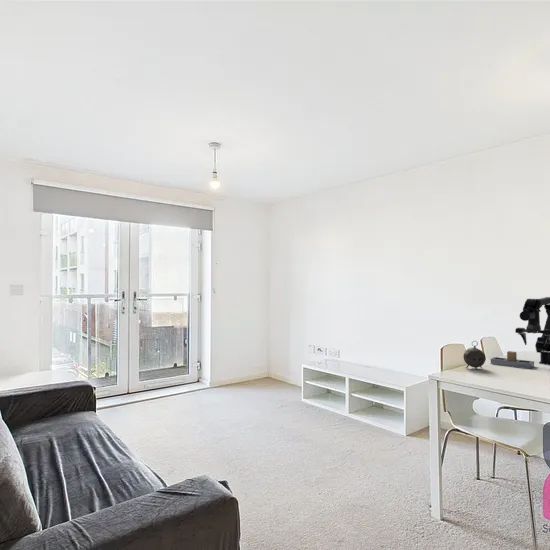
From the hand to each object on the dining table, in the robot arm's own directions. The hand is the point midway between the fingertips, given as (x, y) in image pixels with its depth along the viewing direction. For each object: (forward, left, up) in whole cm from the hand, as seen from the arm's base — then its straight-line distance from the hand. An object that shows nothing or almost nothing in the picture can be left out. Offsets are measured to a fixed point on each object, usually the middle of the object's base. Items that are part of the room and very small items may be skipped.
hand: (534, 345), depth 233 cm
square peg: (+8, -10, -12) cm, 18 cm away
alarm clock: (+34, -23, -12) cm, 43 cm away
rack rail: (+8, -10, -12) cm, 18 cm away
